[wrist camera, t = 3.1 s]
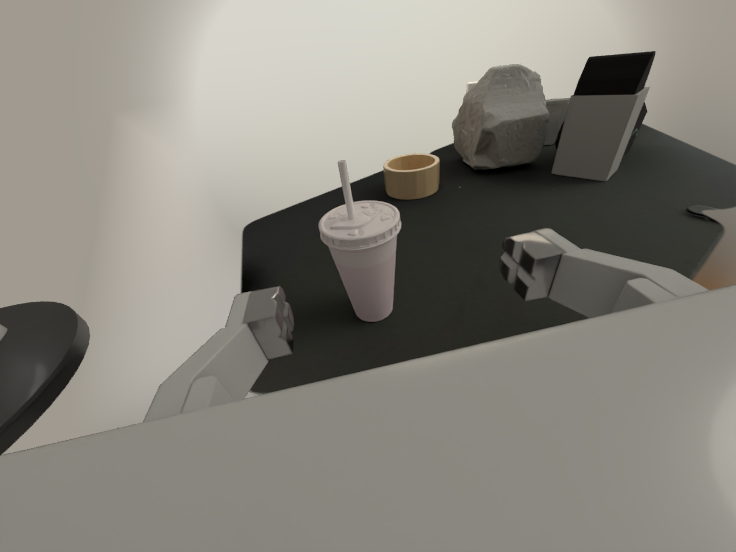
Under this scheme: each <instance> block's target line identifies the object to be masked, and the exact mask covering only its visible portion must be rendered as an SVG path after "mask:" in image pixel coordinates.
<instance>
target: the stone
mask: <svg viewBox="0 0 736 552" xmlns="http://www.w3.org/2000/svg"><path fill="white" fill-rule="evenodd" d="M549 118H550V113H549V112H548V110H547V109H546V100H545V96H544V94H543V87H542V85H541V79H540V75H539V74H537V73H536V72H533V71H531V70H530V69H528V68H526V67H524V66H522V65H519V64H512V65H503V66H497V67H492V68H490V69H489V70H488V71H487V72H486V74H485V75H484V76H483V77H482V78H481V79H480V80H479V81H478V82H477V83H476V84H475V85H474V86H473V87H472V88H471V89H470V90H469V91H468V92H467V93H466V95H465V96H464V99H463V104H462V106H461V107H460V109H459V113H458V115H457V117H456V118H455V119H454V120H453V123H452V128H453V132H454V146H455V149H456V151H457V152H458V153H459V154H460V155H461V156H462V157H463V159H462V161H464V162H465V163H467V164H468V165H469V166H471V167H472V168H473V169H474V170H477V169H480V170H483V169H494V168H500V167H511V166H516V165H521V164H525V163H531V162H534V161H536V160H537V159H538V158H539V156H540V154H541V151H542V148H543V145H544V142H545V138H546V134H547V128H548V121H549Z"/></svg>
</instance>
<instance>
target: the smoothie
mask: <svg viewBox="0 0 736 552" xmlns="http://www.w3.org/2000/svg"><path fill="white" fill-rule="evenodd" d="M338 167H339V172H340V177H341V182H342V188H343V193H344V198H345V203H346V204H345V205H342V206H339V207H337V208H335V209H333V210H331V211H329V212H328V213H327V214H325V215H324V216H323V217H322V219H321V220H320V222H319V230H320V234H321V239H322V241H323V242H324V243H325V244H326V245H328V247H329V249H330V252H331V254H332V257H333V259H334V262H335V264H336V266H337V269H338V271H339V274H340V276H341V279H342V281H343V284H344V286H345V289H346V291H347V293H348V296H349V298H350V301H351V303H352V306H353V308H354V311H355V313H356V315H357V316H358V317H359V318H360V319H362V320H364V321H368V322H375V321H380V320H382V319H384V318H386V317H387V316H388V315H389V314H390V313H391V311H392V308H393V292H394V274H395V256H396V238H397V234H398V232H399V231H400V229H401V221H400V214H399V211H398V209H397V208H396V207H394V206H393V205H391V204H388V203H385V202H381V201H358V202H353V199H352V194H351V188H350V182H349V176H348V172H347V165H346V161H345V160H341V161H338Z"/></svg>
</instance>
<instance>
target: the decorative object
mask: <svg viewBox="0 0 736 552" xmlns="http://www.w3.org/2000/svg"><path fill="white" fill-rule="evenodd" d="M654 56H655V51H652V52H641V53H630V54H617V55H606V56H595V57H589V58H588V60H587V62H586V65H585V67H584V70H583V72H582V74H581V77H580V79H579V81H578V84H577V87H576V90H575V92H574V95H572V96H571V98H570V102H569V106H568V109H567V113H566V117H565V120H564V122H563V123H562V125H561V127H560V130H559V132H558V135H557V139H556V149H557V153H556V156H555V160H554V164H553V168H552V172H551V174H557V175H564V176H571V177H578V178H585V179H592V180H599V181H607V180H608V179H609V178H610V177H611V176H612V175H613V174H614V173H615V171H616V170H617V169H618V167H619V164H620V162H621V159H622V157H623V156H624V155H625V154H626V153H627V152H628V151H629V150H630V148H631V146H632V143H633V141H634V139H635V137H636V135H637V133H638V130H639V128H640V126H641V124H642V122H643V120H644V117H645V115H646V113H647V109H646V105H645V102H644V101H645V98H646V95H647V93H648V90H649V87H644V86H645V83H646V80H647V77H648V74H649V72H650V69H651V66H652V62H653V59H654Z"/></svg>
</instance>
